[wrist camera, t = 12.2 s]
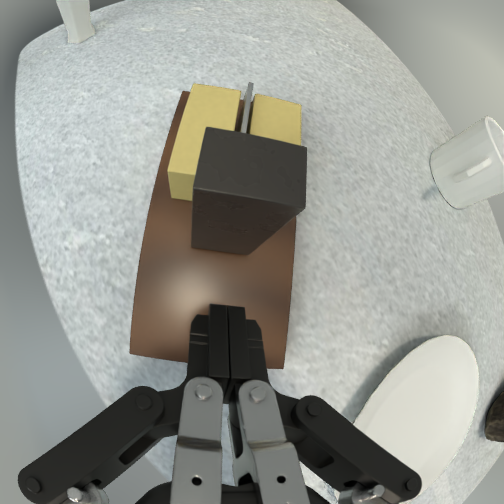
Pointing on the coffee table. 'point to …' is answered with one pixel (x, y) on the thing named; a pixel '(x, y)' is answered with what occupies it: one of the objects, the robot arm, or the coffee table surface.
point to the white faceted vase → (76, 19)
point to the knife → (245, 187)
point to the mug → (470, 164)
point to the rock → (496, 421)
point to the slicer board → (204, 276)
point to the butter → (224, 117)
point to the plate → (424, 407)
